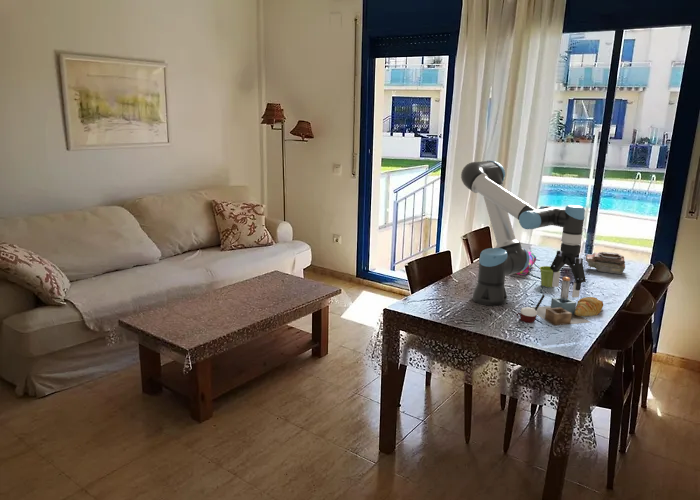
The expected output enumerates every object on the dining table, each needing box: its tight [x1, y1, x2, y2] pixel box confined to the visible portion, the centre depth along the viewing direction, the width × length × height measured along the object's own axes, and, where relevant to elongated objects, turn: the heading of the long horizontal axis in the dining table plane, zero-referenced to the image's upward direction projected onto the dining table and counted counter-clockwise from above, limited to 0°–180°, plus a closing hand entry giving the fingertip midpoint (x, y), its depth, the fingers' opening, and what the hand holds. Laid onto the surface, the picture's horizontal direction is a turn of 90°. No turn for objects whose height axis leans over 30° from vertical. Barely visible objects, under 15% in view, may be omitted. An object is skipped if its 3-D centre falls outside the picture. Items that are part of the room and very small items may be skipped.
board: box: [531, 305, 591, 327], centre depth 223 cm, size 17×20×1 cm
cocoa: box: [516, 293, 546, 324], centre depth 215 cm, size 10×6×12 cm
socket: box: [550, 297, 577, 314], centre depth 227 cm, size 7×7×5 cm
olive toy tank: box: [585, 251, 626, 275], centre depth 286 cm, size 13×20×10 cm, turn 60°
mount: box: [545, 307, 572, 324], centre depth 217 cm, size 7×7×4 cm
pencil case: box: [514, 251, 537, 276], centre depth 286 cm, size 22×9×9 cm, turn 154°
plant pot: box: [539, 265, 560, 288], centre depth 262 cm, size 9×9×9 cm
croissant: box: [574, 296, 604, 317], centre depth 228 cm, size 21×10×8 cm, turn 130°
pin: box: [559, 276, 571, 303], centre depth 225 cm, size 3×3×15 cm
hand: (564, 291), depth 225 cm, fingers open, 13 cm apart
